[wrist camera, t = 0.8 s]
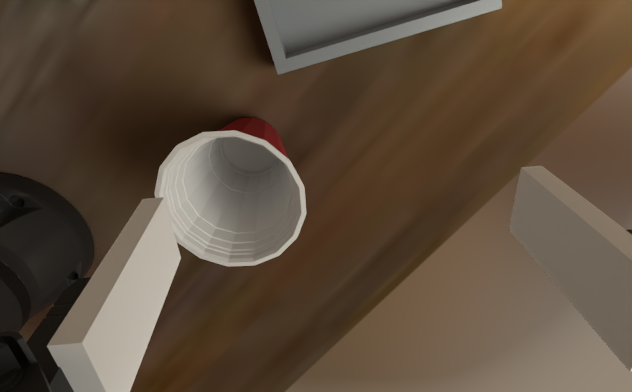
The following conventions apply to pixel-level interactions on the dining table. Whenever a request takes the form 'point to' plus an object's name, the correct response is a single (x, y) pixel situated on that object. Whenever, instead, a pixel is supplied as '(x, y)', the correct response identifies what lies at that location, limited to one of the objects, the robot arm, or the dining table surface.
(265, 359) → the dining table surface
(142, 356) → the robot arm
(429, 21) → the tray
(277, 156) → the plastic cup
